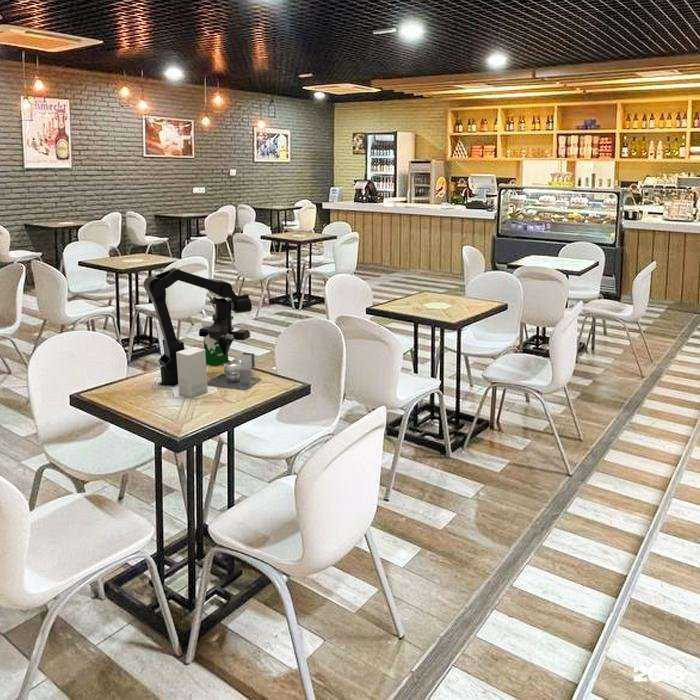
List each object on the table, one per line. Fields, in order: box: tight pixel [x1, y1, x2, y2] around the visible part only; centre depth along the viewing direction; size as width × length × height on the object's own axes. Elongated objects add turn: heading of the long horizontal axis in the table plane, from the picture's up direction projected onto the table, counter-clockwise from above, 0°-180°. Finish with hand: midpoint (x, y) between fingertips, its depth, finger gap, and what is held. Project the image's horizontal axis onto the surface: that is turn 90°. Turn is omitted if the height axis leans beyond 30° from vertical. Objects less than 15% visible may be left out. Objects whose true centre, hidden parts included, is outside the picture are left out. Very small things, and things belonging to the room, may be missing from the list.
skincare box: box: [176, 346, 208, 399], centre depth 250 cm, size 8×7×16 cm
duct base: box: [207, 368, 261, 391], centre depth 263 cm, size 16×12×6 cm
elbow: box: [223, 352, 256, 374], centre depth 267 cm, size 16×6×5 cm, turn 161°
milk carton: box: [200, 313, 230, 367], centre depth 286 cm, size 9×9×20 cm
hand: (225, 355), depth 272 cm, fingers closed
